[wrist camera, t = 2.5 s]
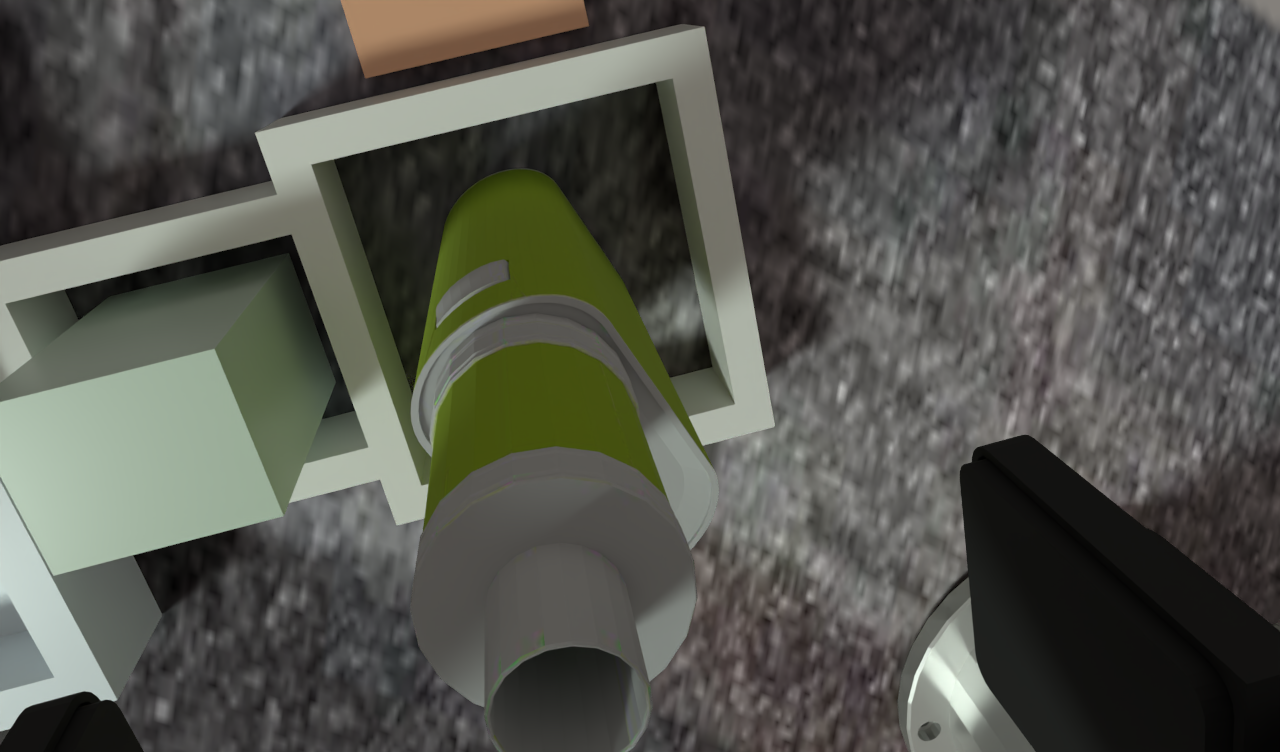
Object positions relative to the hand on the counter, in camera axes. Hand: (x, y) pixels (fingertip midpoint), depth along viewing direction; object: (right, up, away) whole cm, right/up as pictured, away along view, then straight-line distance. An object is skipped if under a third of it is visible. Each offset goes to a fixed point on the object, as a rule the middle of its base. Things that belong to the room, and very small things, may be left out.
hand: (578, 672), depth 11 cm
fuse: (-11, +4, +17) cm, 21 cm away
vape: (-2, +6, +18) cm, 19 cm away
